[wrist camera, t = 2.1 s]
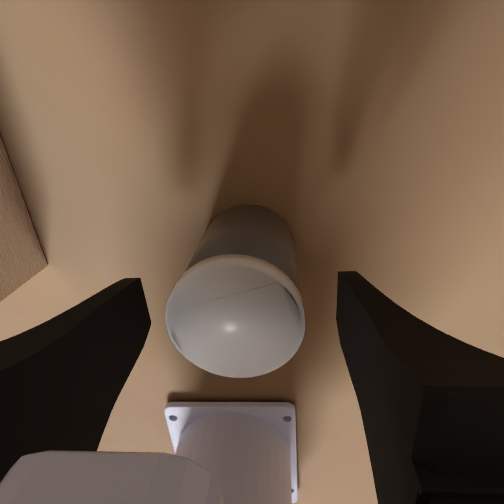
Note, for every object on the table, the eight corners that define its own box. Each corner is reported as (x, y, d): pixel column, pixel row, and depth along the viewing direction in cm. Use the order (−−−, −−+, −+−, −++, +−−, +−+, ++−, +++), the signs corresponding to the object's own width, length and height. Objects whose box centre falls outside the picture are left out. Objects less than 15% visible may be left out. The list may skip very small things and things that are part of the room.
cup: (297, 288, 17) (306, 377, 12) (208, 290, 18) (177, 378, 12) (295, 200, 16) (304, 259, 10) (195, 205, 16) (152, 265, 11)
